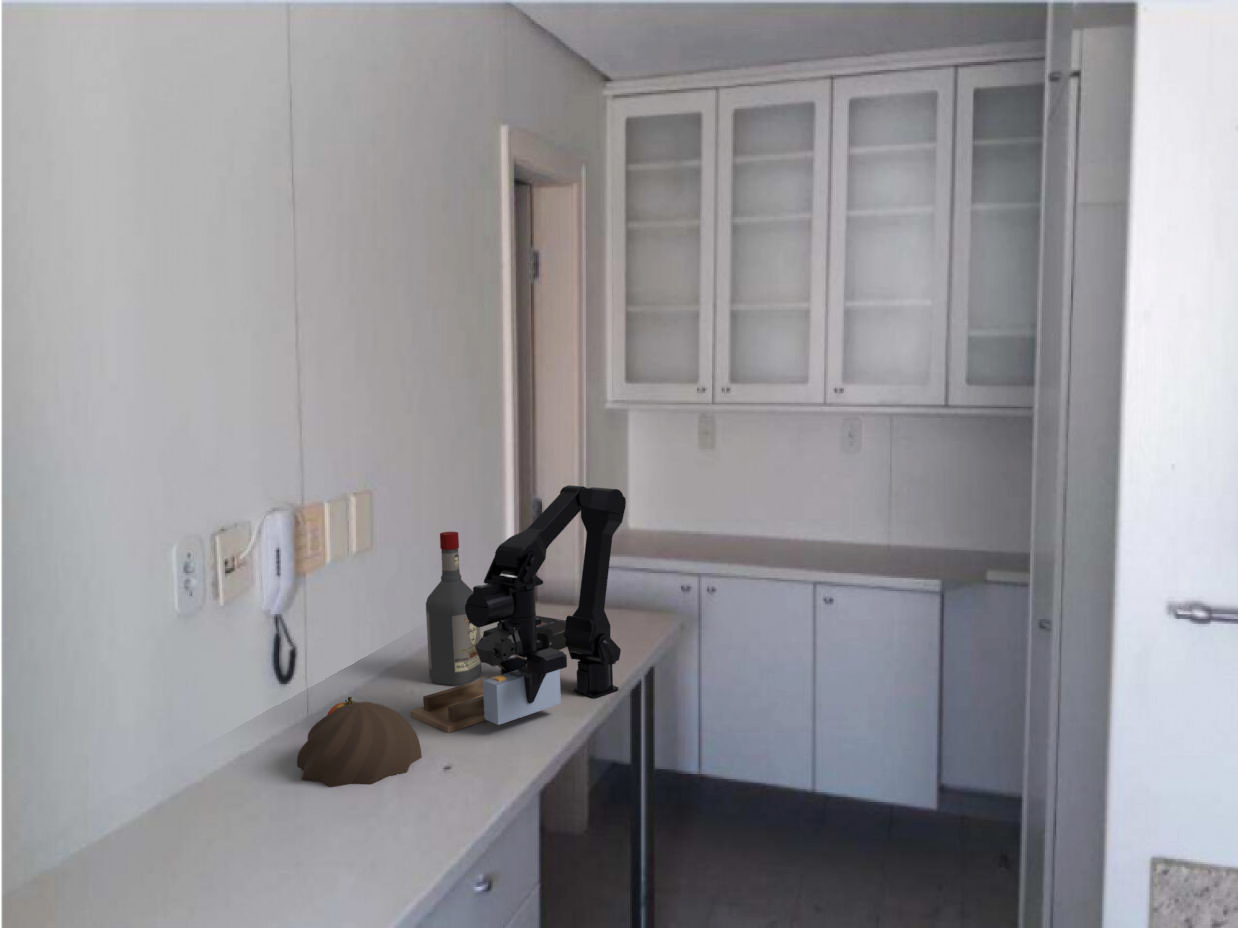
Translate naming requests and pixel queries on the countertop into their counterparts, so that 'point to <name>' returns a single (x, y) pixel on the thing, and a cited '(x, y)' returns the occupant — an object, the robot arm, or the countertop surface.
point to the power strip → (517, 696)
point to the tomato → (341, 705)
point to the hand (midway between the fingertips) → (522, 699)
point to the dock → (453, 707)
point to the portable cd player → (546, 622)
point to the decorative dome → (358, 746)
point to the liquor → (451, 623)
